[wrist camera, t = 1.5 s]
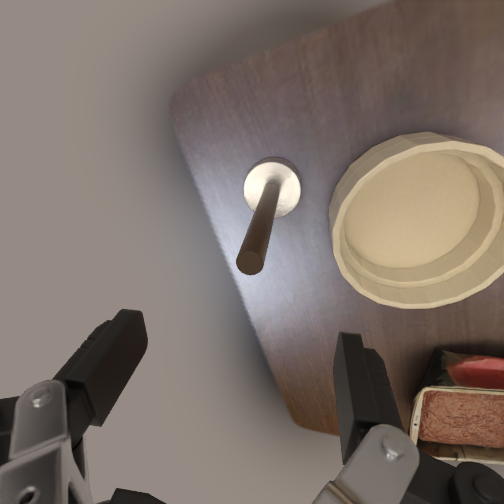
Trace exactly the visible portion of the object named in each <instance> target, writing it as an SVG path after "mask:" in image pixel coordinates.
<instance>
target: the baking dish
mask: <svg viewBox="0 0 504 504" xmlns="http://www.w3.org/2000/svg"><path fill="white" fill-rule="evenodd" d="M408 436H409V437H410V438H411V439H412V440H413V442H414V443H415V445H416V446H417V447H418V448H419V449H420V450H422V451H423V452H425V453H426V454H428V455H430V456H432V457H434V458H436V459H441V460H452V461H462V462H465V461H472V462H477V463H490V464H503V465H504V358H499V357H495V356H480V355H469V354H458V353H452V352H448V351H445V350H441V349H437V348H436V349H435V352H434V354H433V357H432V359H431V361H430V364H429V366H428V369H427V371H426V374H425V376H424V379H423V381H422V383H421V385H420V387H419V389H418V390H417V392H416V395H415V396H414V398H413V400H412V405H411V416H410V423H409V429H408Z"/></svg>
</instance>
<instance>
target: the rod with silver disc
mask: <svg viewBox="0 0 504 504" xmlns="http://www.w3.org/2000/svg"><path fill="white" fill-rule="evenodd" d="M243 194H244V198H245V201H246V203H247V204H248V206H249V207H250V208H251V210H253V211H254V212H255V213H254V215H253V218H252V220H251V223H250V226H249V228H248V231H247V233H246V236H245V238H244V241H243V244H242V246H241V249H240V251H239V254H238V256H237V259H236V264H237V267H238V269H239V270H240V271H241V272H242V273H244V274H247V275H255V274H257V273H259V272H260V271H261V270H262V269H263V266H264V261H265V257H266V252H267V248H268V243H269V239H270V235H271V230H272V226H273V221H274V218H279V217H283V216H285V215H287V214H289V213H290V212H291V211H292V210H293V209H294V208H295V207H296V205H297V204H298V202H299V199H300V196H301V178H300V175H299V172H298V171H297V169H296V168H295V166H294V165H293V164H292V163H290V162H289V161H287V160H285V159H283V158H279V157H268V158H265V159H262V160H260V161H259V162H257V163H256V164H255V165H254V166H253V167H252V169H251V170H250V172H249V173H248V175H247V177H246V179H245V181H244V186H243Z"/></svg>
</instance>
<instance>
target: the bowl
mask: <svg viewBox="0 0 504 504" xmlns="http://www.w3.org/2000/svg"><path fill="white" fill-rule="evenodd" d="M328 213H329V232H330V238H331V244H332V249H333V254H334V257H335V260H336V262H337V264H338V267H339V269H340V271H341V274H342V275H343V277H344V278H345V279H346V280H347V281H348V282H349V283H350V284H351V285H352V286H353V287H354V288H355V289H356V290H357V292H359V293H361V294H362V295H364V296H366V297H368V298H370V299H372V300H374V301H375V302H377V303H380V304H384V305H388V306H393V307H397V308H402V309H423V308H434V307H438V306H442V305H446V304H450V303H454V302H458V301H461V300H463V299H465V298H467V297H468V296H470V295H472V294H474V293H476V292H478V291H480V290H482V289H484V288H486V287H487V286H489V285H490V284H491V283H492V282H493V281H494V280H496V279H497V278H498V277H499V276H500V275H501V274H503V273H504V157H503V156H501V155H500V154H498V153H497V152H495V151H493V150H492V149H490V148H489V147H486V146H483V145H480V144H477V143H474V142H471V141H468V140H465V139H462V138H459V137H455V136H450V135H445V134H440V133H435V132H420V133H412V134H405V135H399V136H396V137H394V138H392V139H390V140H387V141H385V142H383V143H380V144H378V145H376V146H374V147H372V148H370V149H369V150H368V151H367V152H366V153H364V154H363V155H362V156H361V157H359V158H358V159H357V160H356V161H355V162H353V163H352V164H351V165H350V166H349V168H348V169H347V171H346V172H345V173H344V175H343V176H342V178H341V179H340V181H339V182H338V184H337V185H336V187H335V189H334V193H333V196H332V199H331V202H330V206H329V210H328Z"/></svg>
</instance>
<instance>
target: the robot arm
mask: <svg viewBox="0 0 504 504" xmlns="http://www.w3.org/2000/svg"><path fill="white" fill-rule="evenodd" d="M147 344H148V337H147V332H146V327H145V323H144V318H143V314H142V312H141V311H138V310H128V309H122V310H120V311H119V312H118V313H117V315H116V316H115V317H114V318H113V319H112V321H111V320H107V321H106V322H104V323H103V324H101V325H100V326H98V327H97V328H96V329H95V330H94V331H93V332H92V333H91V334H90V335H89V337H88V338H87V340H85V341H84V343H83V344H82V345H81V347H80V348H78V350H77V351H76V352H75V353H74V354H73V356H72V357H71V358H70V359H69V360H68V361H67V363H66V364H65V365H64V366H63V367H62V368H61V369H60V371H59V372H58V373H57V374H56V375H55V377H54V378H53V379H52V380H46V381H42V382H40V383H37V384H35V385H33V386H32V387H30V388H29V389H27V390H26V391H25V392H24V393H23V394H22V395H21V396H17V397H11V398H4V399H0V504H93V500H92V496H91V491H90V485H89V474H88V461H87V449H86V438H85V434H84V433H85V431H86V429H87V428H88V426H89V425H93V426H100V427H101V426H102V425H103V423H104V421H105V420H106V418H107V416H108V414H109V413H110V411H111V410H112V408H113V406H114V404H115V403H116V401H117V399H118V398H119V396H120V394H121V393H122V391H123V389H124V388H125V386H126V384H127V383H128V381H129V379H130V377H131V376H132V374H133V372H134V371H135V369H136V367H137V366H138V364H139V362H140V361H141V359H142V357H143V355H144V354H145V351H146V349H147ZM333 375H334V385H335V395H336V404H337V414H338V423H339V433H340V442H341V452H342V462H343V465H345V466H344V467H343V469H342V470H341V472H340V473H339V475H338V476H337V477H336V479H335V480H334V481H329V482H328V483H327V484H326V485H325V486H324V488H323V489H322V490H321V492H320V493H319V495H318V496H317V497H316V499H315V500H314V501H313V503H312V504H504V479H503V478H502V477H501V476H500V475H499V474H497V473H496V472H495V471H494V470H492V469H491V468H489V467H487V466H485V465H483V464H480V463H477V462H472V461H465V462H462V463H460V464H459V465H458V466H457V467H454V466H452V465H450V464H447V463H445V462H443V461H441V460H438V459H436V458H434V457H432V456H430V455H428V454H426V453H425V452H423V451H422V450H420V449H419V448H418V447H417V446H416V445H415V443H414V442H413V440H412V439H411V438H410V437H409V436H408V435H407V434H406V433H405V431H404V429H403V426H402V423H401V419H400V416H399V413H398V409H397V406H396V402H395V399H394V395H393V392H392V389H391V386H390V382H389V378H388V376H387V371H386V368H385V365H384V361H383V359H382V358H381V357H380V356H379V354H378V353H377V352H376V351H375V349H369V348H364V347H363V342H362V338H361V335H360V333H351V332H341V331H340V332H339V335H338V340H337V346H336V352H335V357H334V366H333ZM97 504H166V503H164V502H162V501H160V500H159V499H157V498H155V497H153V496H151V495H150V494H148V493H142V492H137V491H130V490H125V489H119V488H116V490H115V492H114V494H113V496H112V498H111V500H107V501H103V502H100V503H97Z"/></svg>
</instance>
